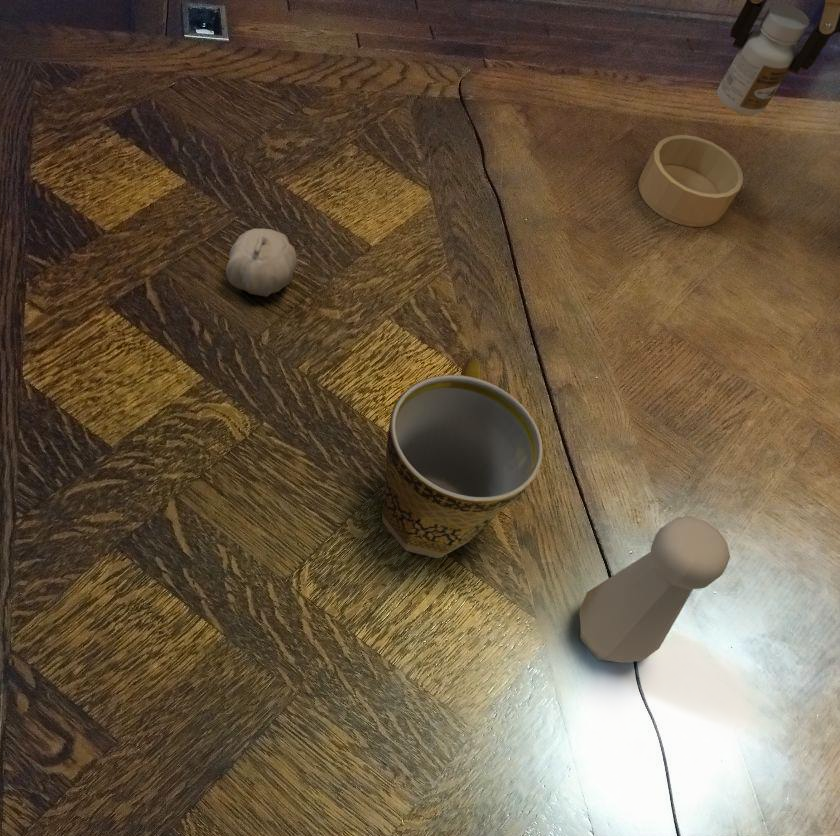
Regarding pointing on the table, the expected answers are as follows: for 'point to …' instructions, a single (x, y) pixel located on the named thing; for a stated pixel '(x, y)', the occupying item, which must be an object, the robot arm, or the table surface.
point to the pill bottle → (763, 60)
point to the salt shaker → (652, 591)
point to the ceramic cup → (455, 460)
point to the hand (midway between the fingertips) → (766, 54)
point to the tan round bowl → (690, 180)
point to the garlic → (261, 262)
